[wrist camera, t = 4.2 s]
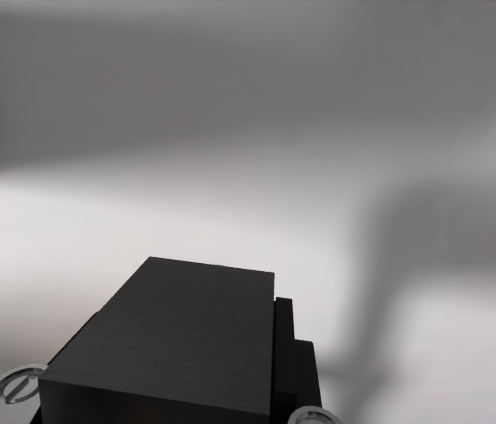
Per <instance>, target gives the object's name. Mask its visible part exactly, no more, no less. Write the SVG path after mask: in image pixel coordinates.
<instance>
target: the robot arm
mask: <svg viewBox="0 0 496 424" xmlns="http://www.w3.org/2000/svg"><path fill="white" fill-rule="evenodd" d="M97 313H98V312H96V313H95V314H94V315H93V316H92V317H91V318H90V319H89V320H88V321H87V322H86V323H85V324H84V325H83V326H82V327H81V329H80V330H79V331H78V332H77V333H76V334H75V335H74V336H73V337H72V338H71V339H70V340H69V341H68V342H67V344H66V345H65V346H64V347H63V348H62V349H61V350H60V351H59V352H58V353H57V354H56V355H55V356H54V357H53V359H52V360H51V361H50V362H49V363H48V364H47V365H45V364H39V363H33V364H26V365H22V366H18V367H15V368H13V369H11V370H9V371H7V372H5V373H4V374H2V375H1V376H0V424H43V421H42V413H41V405H40V397H39V388H38V380H37V378H38V377H39V376H40V375H41V374H42V373H43V371H44V370H45V369H46V368H47V367H48V366H49V365H50V364H51V363H52V362H53V361H54V360H55V358H56V357H57V356H58V355H59V354H60V353H61V352H62V351H63V350H64V349H65V348H66V347H67V345H68V344H69V343H70V342H71V341H72V340H73V339H74V338H75V337H76V336H77V335H78V333H79V332H80V331H81V330H82V329H83V328H84V327H85V326H86V325H87V324H88V323H89V322H90V320H91V319H92V318H93V317H94V316H95V315H96V314H97ZM268 424H343V423H342V422H341V421H340V420H339V419H338V418H337V417H336V416H335V415H333V414H332V413H331V412H330V411H327V410H325V409H323V408H322V402H321V395H320V388H319V381H318V374H317V367H316V360H315V353H314V346H313V343H312V342H311V341H304V340H297V339H295V337H294V321H293V305H292V299H288V298H281V297H276V301H274V304H273V332H272V361H271V389H270V416H269V422H268Z"/></svg>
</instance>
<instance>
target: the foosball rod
mask: <svg viewBox="0 0 496 424" xmlns="http://www.w3.org/2000/svg"><path fill="white" fill-rule="evenodd" d="M274 276H275V273H272V272H264V271H257V270H249V269H242V268H234V267H227V266H223V265H211V264H203V263H196V262H188V261H180V260H173V259H165V258H158V257H150V256H149V258H148V259H147V260H146V261H145V262H144V263H143V264H142V265H141V266H140V267H139V268H138V269H137V271H136V272H135V273H134V274H133V275H132V276H131V277H130V278H129V279H128V280H127V281H126V282H125V284H124V285H123V286H122V287H121V288H120V289H119V290H118V291H117V292H116V293H115V294H114V296H113V297H112V298H111V299H110V300H109V301H108V302H107V303H106V304H105V305H104V306H103V307H102V309H101V310H100V311H99V312H98V313H97V314H96V315H95V316H94V317H93V318H92V319H91V320H90V322H89V323H88V324H87V325H86V326H85V327H84V328H83V329H82V330H81V331H80V332H79V333H78V335H77V336H76V337H75V338H74V339H73V340H72V341H71V342H70V343H69V344H68V345H67V347H66V348H65V349H64V350H63V351H62V352H61V353H60V354H59V355H58V356H57V357H56V358H55V360H54V361H53V362H52V363H51V364H50V365H49V366H48V367H47V368H46V369H45V370H44V371H43V373H42V374H41V375H40V376H39V377H38V378H37V380H38V388H39V397H40V405H41V413H42V421H43V424H268V422H269V416H270V389H271V361H272V332H273V304H274Z"/></svg>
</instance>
